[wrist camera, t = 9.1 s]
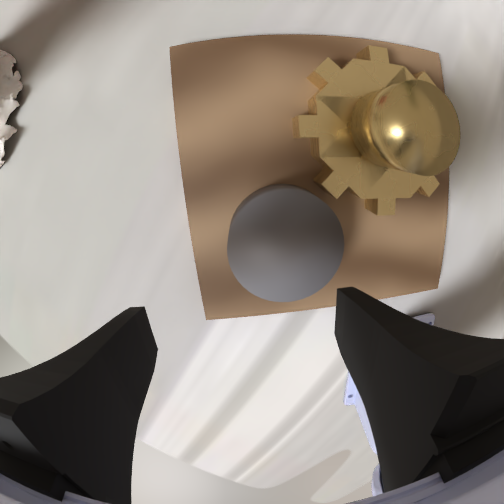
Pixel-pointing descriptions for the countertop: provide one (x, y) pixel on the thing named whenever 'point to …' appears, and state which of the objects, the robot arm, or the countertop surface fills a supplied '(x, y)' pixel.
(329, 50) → the carrier plate
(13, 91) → the white paper bag
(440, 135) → the brass gear
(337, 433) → the countertop surface
